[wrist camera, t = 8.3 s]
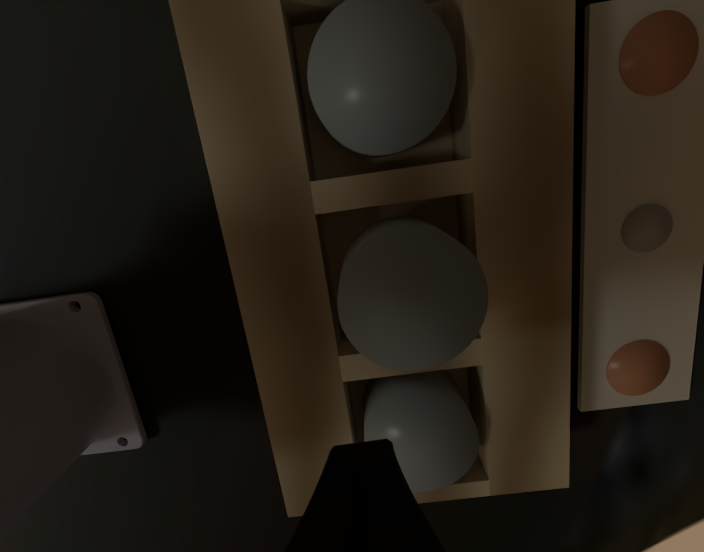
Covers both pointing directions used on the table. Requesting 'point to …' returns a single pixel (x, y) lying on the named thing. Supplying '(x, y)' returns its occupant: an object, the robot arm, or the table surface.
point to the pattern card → (641, 201)
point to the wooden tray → (393, 201)
